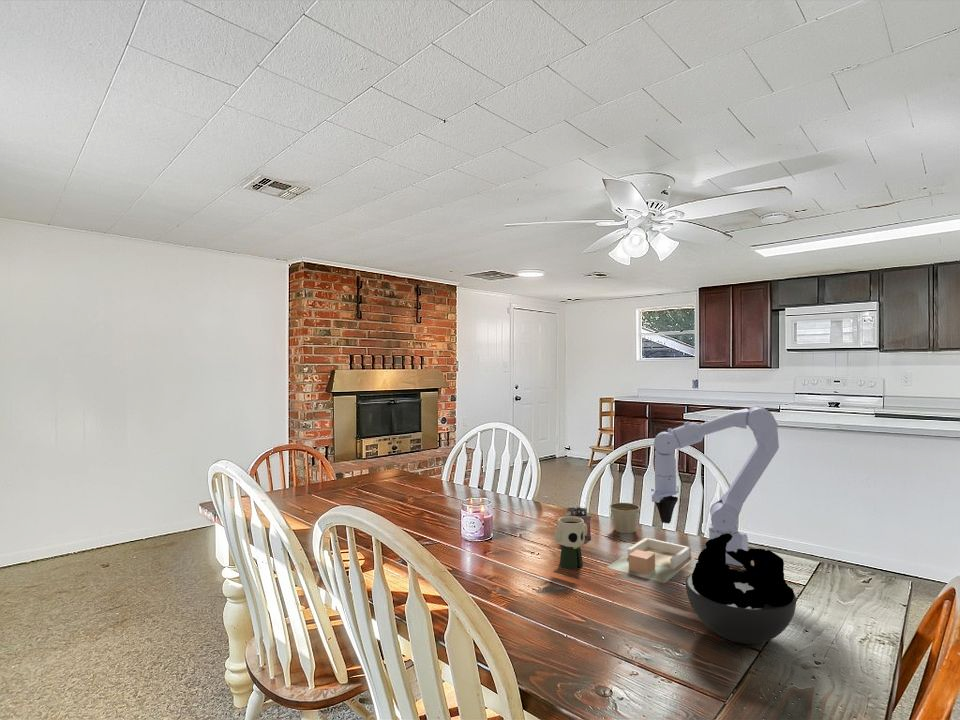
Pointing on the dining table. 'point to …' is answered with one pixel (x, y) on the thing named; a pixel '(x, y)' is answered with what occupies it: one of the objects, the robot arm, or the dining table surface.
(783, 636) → the dining table surface
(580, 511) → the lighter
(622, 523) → the flower pot
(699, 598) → the coal bowl
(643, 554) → the block
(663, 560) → the board
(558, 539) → the character mug
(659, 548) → the cream u-shaped frame
